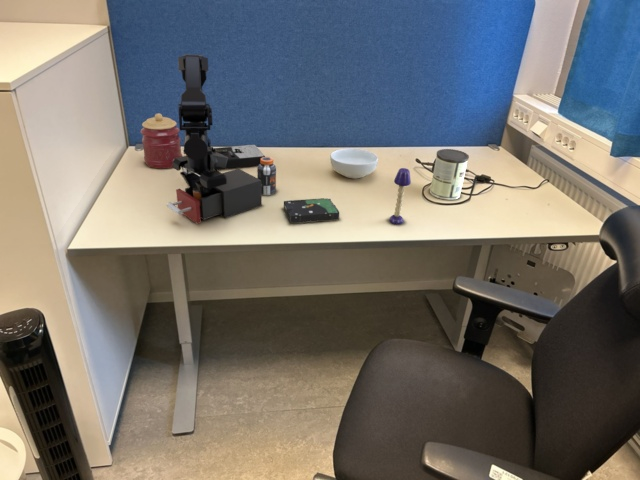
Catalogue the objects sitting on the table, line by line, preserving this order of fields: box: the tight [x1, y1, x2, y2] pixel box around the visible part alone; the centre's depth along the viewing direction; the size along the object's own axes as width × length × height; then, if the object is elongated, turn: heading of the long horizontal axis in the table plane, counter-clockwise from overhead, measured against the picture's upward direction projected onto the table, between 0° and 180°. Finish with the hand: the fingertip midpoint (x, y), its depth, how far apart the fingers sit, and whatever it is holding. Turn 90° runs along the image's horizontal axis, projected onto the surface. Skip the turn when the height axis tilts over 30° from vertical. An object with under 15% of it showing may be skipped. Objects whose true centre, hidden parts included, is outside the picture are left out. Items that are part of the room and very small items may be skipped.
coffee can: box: [429, 148, 470, 201], centre depth 156 cm, size 10×10×14 cm
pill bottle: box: [256, 156, 277, 196], centre depth 150 cm, size 6×6×11 cm
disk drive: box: [283, 198, 340, 224], centre depth 140 cm, size 10×3×15 cm
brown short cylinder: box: [193, 187, 201, 206], centre depth 133 cm, size 4×4×4 cm
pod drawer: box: [166, 186, 223, 225], centre depth 134 cm, size 17×10×7 cm, turn 134°
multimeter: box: [213, 144, 266, 171], centre depth 172 cm, size 13×19×5 cm
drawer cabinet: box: [214, 168, 263, 219], centre depth 141 cm, size 13×11×8 cm
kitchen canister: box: [140, 113, 183, 169], centre depth 165 cm, size 13×13×18 cm
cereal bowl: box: [329, 148, 379, 179], centre depth 168 cm, size 17×17×7 cm
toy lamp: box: [388, 167, 411, 226], centre depth 135 cm, size 5×5×17 cm
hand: (201, 199), depth 134 cm, fingers closed on brown short cylinder, 4 cm apart
